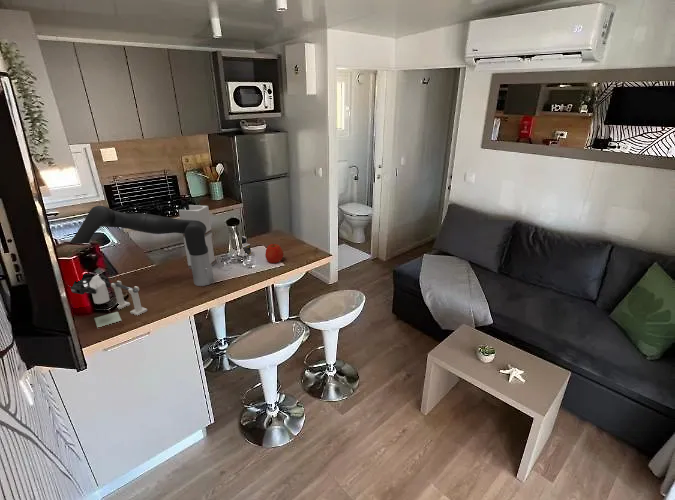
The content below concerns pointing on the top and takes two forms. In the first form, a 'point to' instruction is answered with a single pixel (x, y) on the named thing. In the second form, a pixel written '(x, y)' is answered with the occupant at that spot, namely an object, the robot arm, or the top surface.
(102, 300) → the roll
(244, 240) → the medicine bottle
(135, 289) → the rod
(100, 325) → the mat
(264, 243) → the top surface
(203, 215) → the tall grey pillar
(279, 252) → the apple
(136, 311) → the hurdle posts
